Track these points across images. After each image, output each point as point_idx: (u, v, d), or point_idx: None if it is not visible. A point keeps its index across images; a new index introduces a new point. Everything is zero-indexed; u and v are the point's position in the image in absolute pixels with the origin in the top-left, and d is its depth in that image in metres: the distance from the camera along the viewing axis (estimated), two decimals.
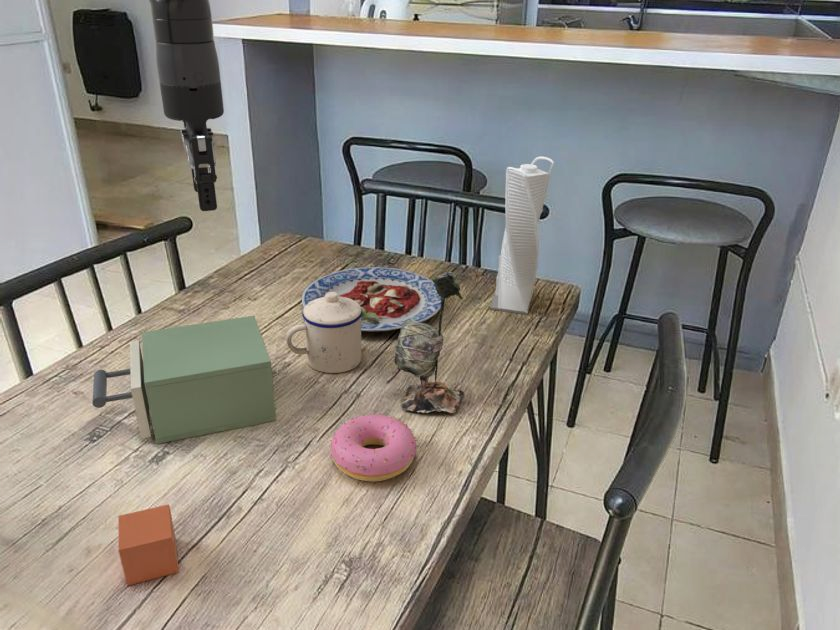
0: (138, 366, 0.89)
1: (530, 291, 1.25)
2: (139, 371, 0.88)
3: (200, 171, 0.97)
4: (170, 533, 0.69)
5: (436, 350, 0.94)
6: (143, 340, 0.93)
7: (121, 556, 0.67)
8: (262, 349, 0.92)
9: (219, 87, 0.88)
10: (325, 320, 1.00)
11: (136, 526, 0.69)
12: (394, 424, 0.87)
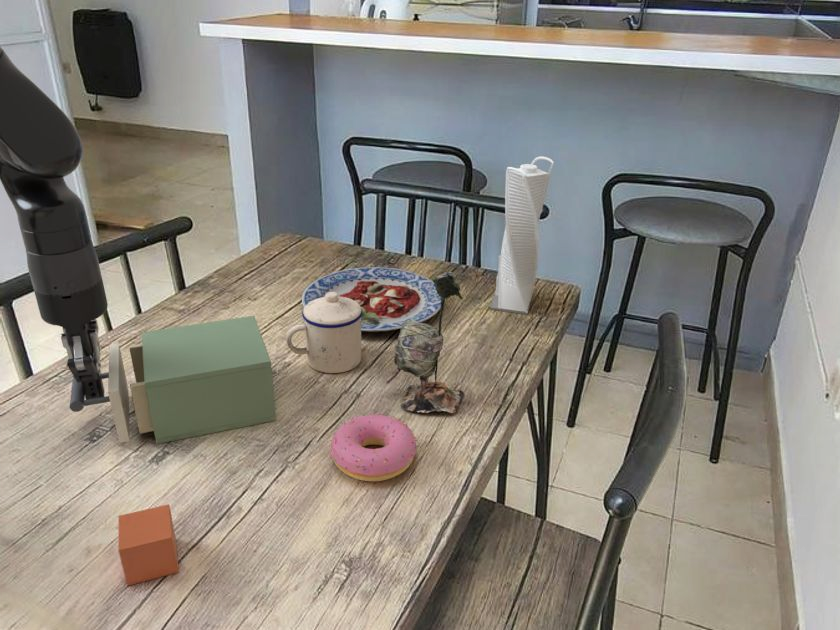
0: (116, 369, 0.88)
1: (530, 291, 1.25)
2: (117, 375, 0.87)
3: None
4: (170, 533, 0.69)
5: (436, 350, 0.94)
6: (143, 340, 0.93)
7: (121, 556, 0.67)
8: (262, 349, 0.92)
9: (99, 287, 0.82)
10: (325, 320, 1.00)
11: (136, 526, 0.69)
12: (394, 424, 0.87)
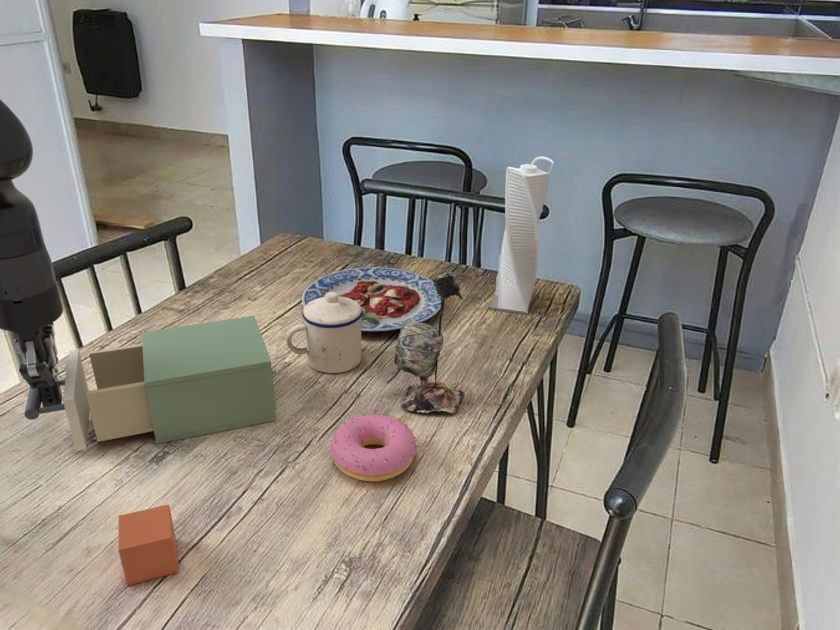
0: (74, 376, 0.87)
1: (530, 291, 1.25)
2: (74, 382, 0.86)
3: None
4: (170, 533, 0.69)
5: (436, 350, 0.94)
6: (143, 340, 0.93)
7: (121, 556, 0.67)
8: (262, 349, 0.92)
9: (52, 292, 0.81)
10: (325, 320, 1.00)
11: (136, 526, 0.69)
12: (394, 424, 0.87)
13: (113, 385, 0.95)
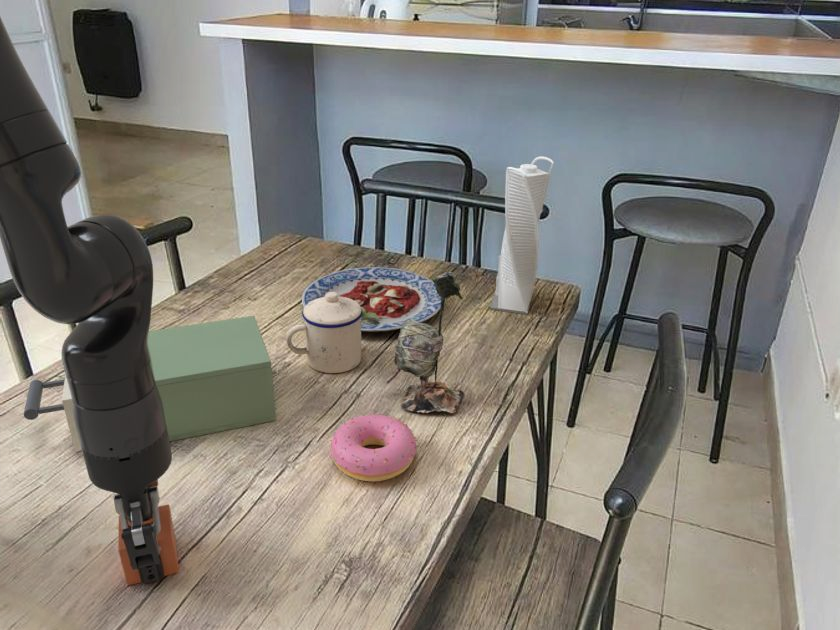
0: None
1: (530, 291, 1.25)
2: None
3: None
4: (170, 533, 0.69)
5: (436, 350, 0.94)
6: None
7: (121, 556, 0.67)
8: (262, 349, 0.92)
9: (163, 439, 0.64)
10: (325, 320, 1.00)
11: None
12: (394, 424, 0.87)
13: None
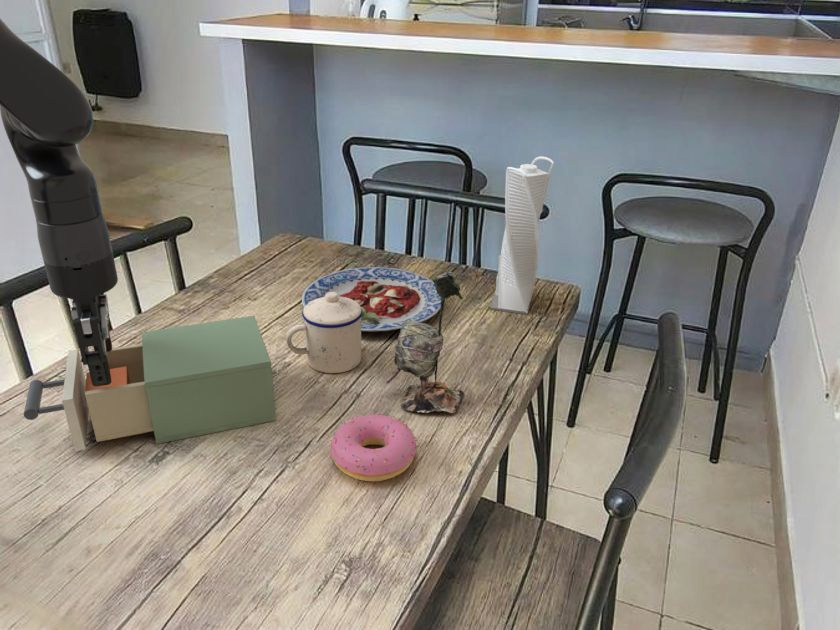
0: (73, 377, 0.87)
1: (530, 291, 1.25)
2: (73, 382, 0.86)
3: (100, 332, 0.90)
4: (126, 383, 0.89)
5: (436, 350, 0.94)
6: (143, 340, 0.93)
7: None
8: (262, 349, 0.92)
9: (109, 260, 0.81)
10: (325, 320, 1.00)
11: None
12: (394, 424, 0.87)
13: None
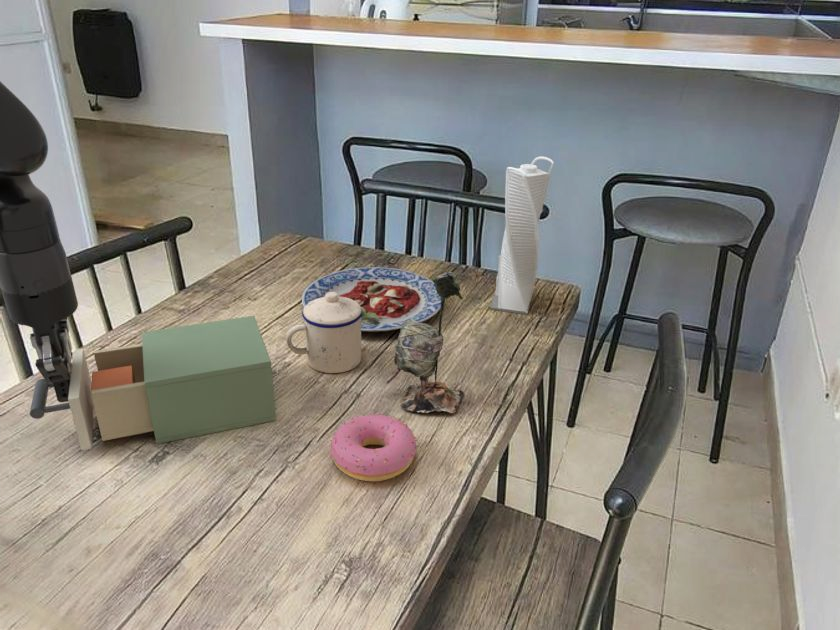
0: (79, 376, 0.87)
1: (530, 291, 1.25)
2: (79, 381, 0.86)
3: None
4: (131, 382, 0.89)
5: (436, 350, 0.94)
6: (143, 340, 0.93)
7: None
8: (262, 349, 0.92)
9: (68, 286, 0.81)
10: (325, 320, 1.00)
11: (105, 378, 0.90)
12: (394, 424, 0.87)
13: None
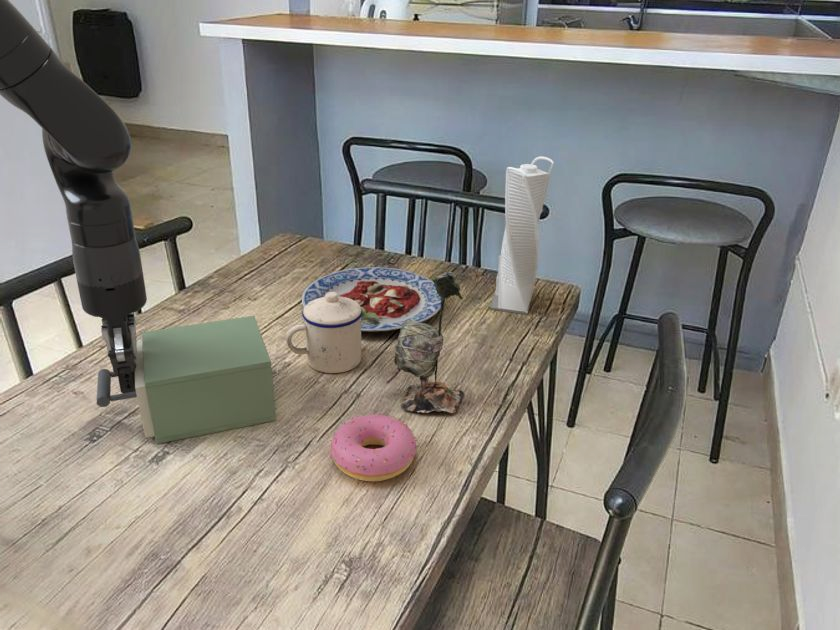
0: (142, 365, 0.89)
1: (530, 291, 1.25)
2: (143, 370, 0.88)
3: None
4: None
5: (436, 350, 0.94)
6: (143, 340, 0.93)
7: None
8: (262, 349, 0.92)
9: (140, 280, 0.84)
10: (325, 320, 1.00)
11: None
12: (394, 424, 0.87)
13: None
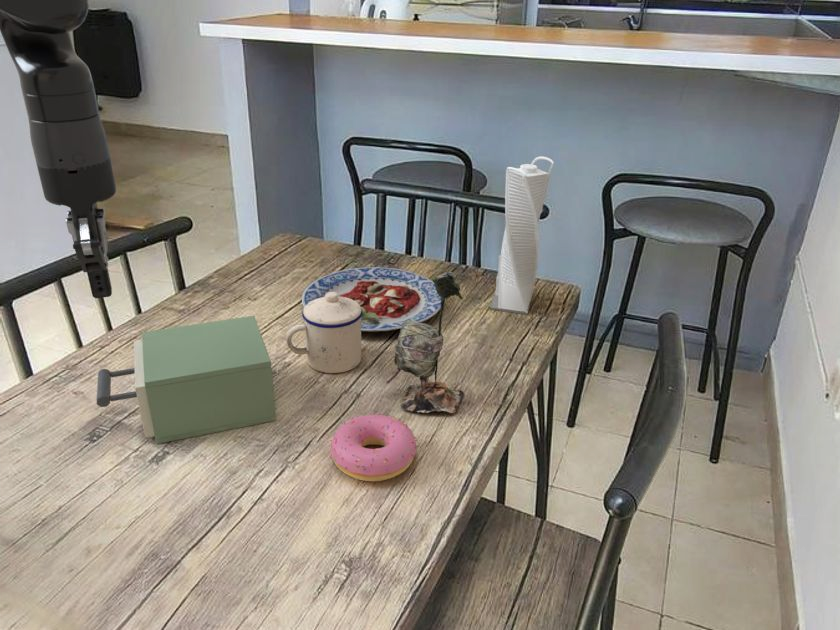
0: (142, 365, 0.89)
1: (530, 291, 1.25)
2: (143, 370, 0.88)
3: None
4: None
5: (436, 350, 0.94)
6: (143, 340, 0.93)
7: None
8: (262, 349, 0.92)
9: (107, 166, 0.77)
10: (325, 320, 1.00)
11: None
12: (394, 424, 0.87)
13: None
